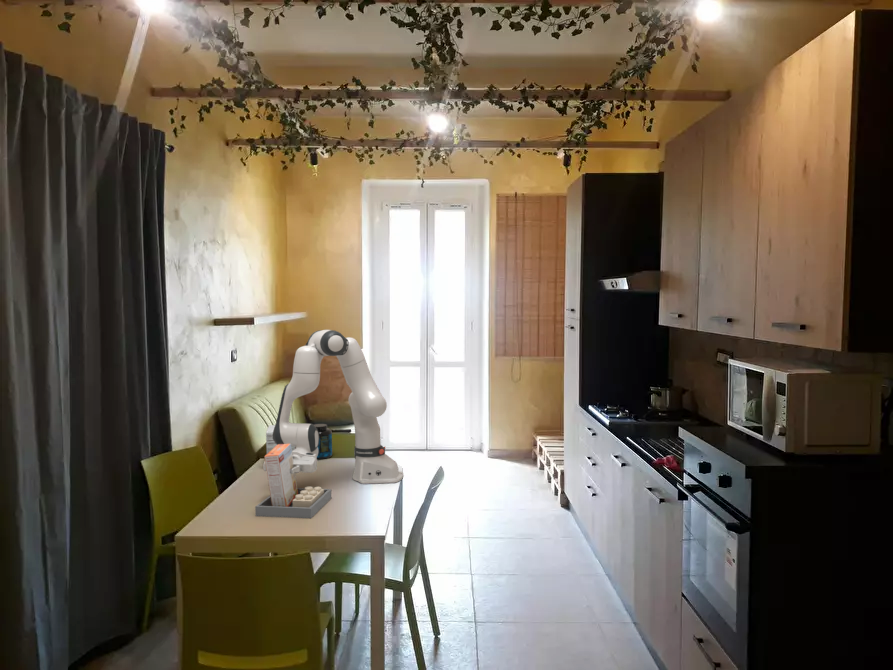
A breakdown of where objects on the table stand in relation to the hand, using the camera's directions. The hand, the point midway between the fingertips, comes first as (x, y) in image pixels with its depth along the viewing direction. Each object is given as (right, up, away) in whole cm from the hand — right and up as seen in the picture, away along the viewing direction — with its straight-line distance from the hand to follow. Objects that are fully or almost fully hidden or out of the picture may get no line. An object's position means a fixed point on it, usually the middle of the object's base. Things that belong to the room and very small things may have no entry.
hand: (282, 471), depth 225 cm
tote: (+5, -14, -1) cm, 15 cm away
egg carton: (+11, -13, -1) cm, 17 cm away
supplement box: (-17, -11, +61) cm, 65 cm away
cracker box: (+1, -12, 0) cm, 12 cm away
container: (-1, -10, +75) cm, 76 cm away
